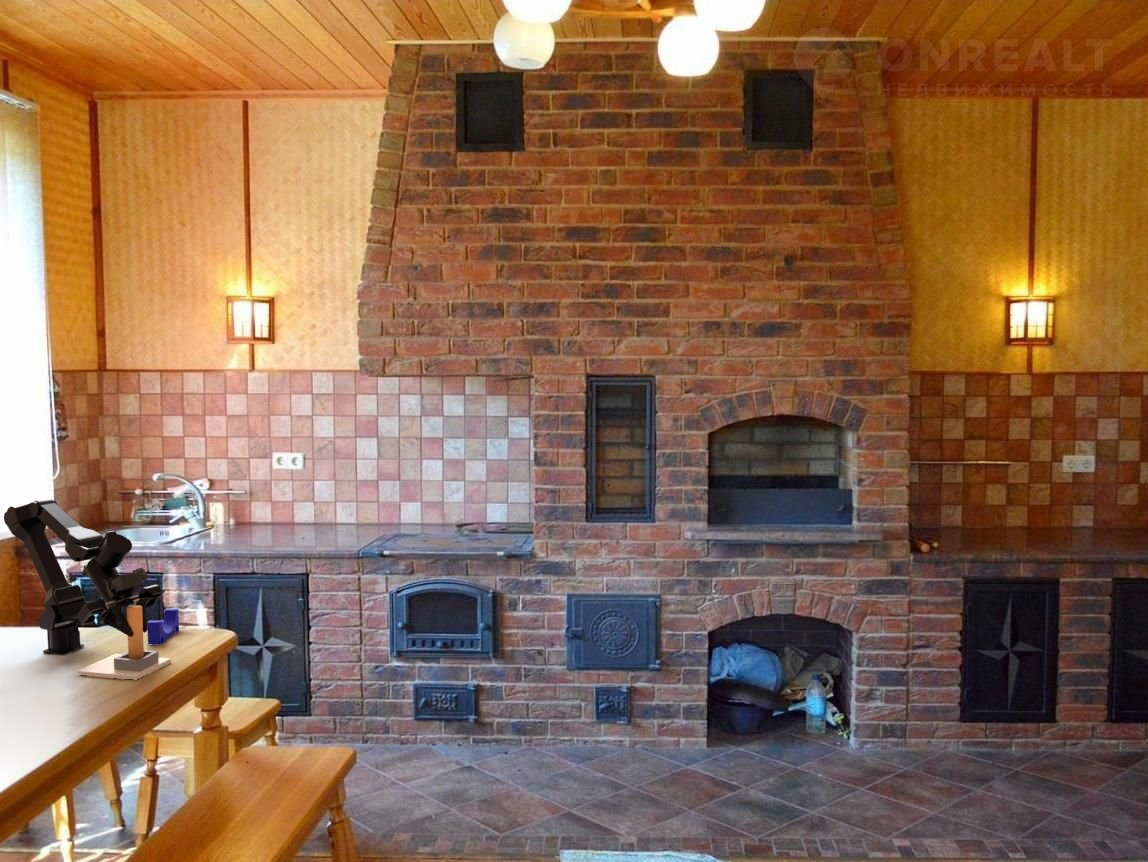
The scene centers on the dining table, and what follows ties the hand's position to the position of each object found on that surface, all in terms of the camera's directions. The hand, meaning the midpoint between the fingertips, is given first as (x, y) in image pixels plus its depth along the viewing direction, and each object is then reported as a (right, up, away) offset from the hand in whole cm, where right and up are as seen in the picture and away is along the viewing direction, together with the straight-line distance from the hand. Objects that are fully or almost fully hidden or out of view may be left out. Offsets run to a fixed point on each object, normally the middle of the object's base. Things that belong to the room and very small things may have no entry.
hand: (139, 633), depth 212 cm
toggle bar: (-1, -7, +1) cm, 7 cm away
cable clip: (-6, -7, +25) cm, 27 cm away
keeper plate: (-4, -9, +2) cm, 10 cm away
